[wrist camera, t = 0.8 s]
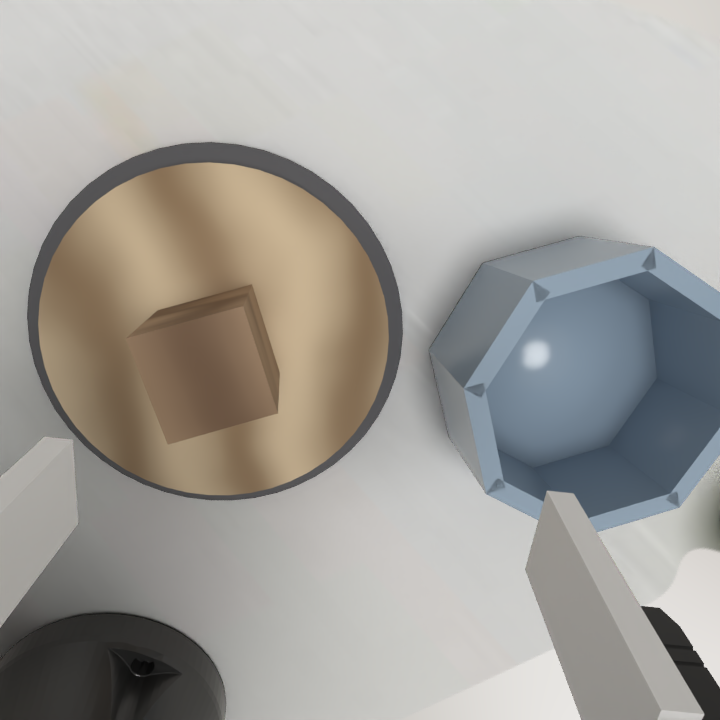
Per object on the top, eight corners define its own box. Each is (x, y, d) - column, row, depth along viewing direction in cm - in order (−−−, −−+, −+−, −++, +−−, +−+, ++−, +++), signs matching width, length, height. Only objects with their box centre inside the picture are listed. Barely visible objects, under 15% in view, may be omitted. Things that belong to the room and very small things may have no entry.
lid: (123, 521, 34) (80, 605, 27) (-12, 216, 28) (-109, 223, 22) (416, 436, 34) (447, 497, 28) (338, 123, 29) (353, 101, 22)
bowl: (461, 493, 37) (500, 561, 30) (413, 282, 32) (445, 305, 26) (668, 433, 37) (752, 485, 30) (647, 217, 33) (738, 223, 26)
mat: (115, 535, 34) (112, 540, 34) (-36, 201, 29) (-42, 201, 28) (433, 443, 35) (435, 446, 35) (351, 99, 29) (352, 97, 29)
